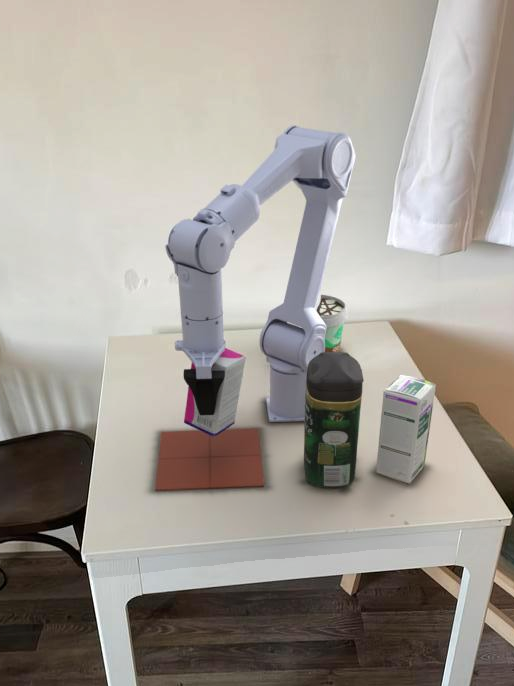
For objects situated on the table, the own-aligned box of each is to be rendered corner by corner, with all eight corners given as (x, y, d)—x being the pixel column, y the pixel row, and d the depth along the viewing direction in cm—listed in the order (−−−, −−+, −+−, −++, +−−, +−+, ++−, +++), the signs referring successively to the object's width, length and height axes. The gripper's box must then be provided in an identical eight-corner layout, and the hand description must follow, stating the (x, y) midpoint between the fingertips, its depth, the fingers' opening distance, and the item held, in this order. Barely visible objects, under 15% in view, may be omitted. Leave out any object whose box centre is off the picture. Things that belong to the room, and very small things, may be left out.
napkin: (258, 429, 116) (258, 428, 115) (264, 486, 103) (264, 485, 102) (161, 433, 115) (161, 431, 114) (155, 491, 102) (155, 489, 101)
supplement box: (235, 423, 106) (247, 355, 99) (214, 438, 101) (225, 368, 95) (204, 408, 108) (214, 341, 101) (182, 422, 103) (190, 353, 97)
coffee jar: (302, 454, 110) (305, 346, 99) (352, 455, 110) (361, 346, 99) (303, 491, 102) (307, 377, 91) (357, 491, 102) (367, 378, 91)
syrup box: (410, 485, 103) (423, 399, 95) (374, 472, 106) (383, 388, 97) (424, 466, 107) (438, 382, 99) (389, 455, 110) (399, 372, 101)
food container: (341, 369, 134) (344, 320, 128) (309, 366, 135) (311, 317, 129) (348, 342, 144) (351, 295, 138) (318, 339, 145) (321, 293, 139)
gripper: (174, 293, 100) (181, 378, 108) (169, 335, 88) (177, 426, 96) (223, 292, 101) (226, 376, 109) (225, 334, 89) (228, 425, 97)
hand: (206, 400), depth 103 cm, fingers closed on supplement box, 7 cm apart
